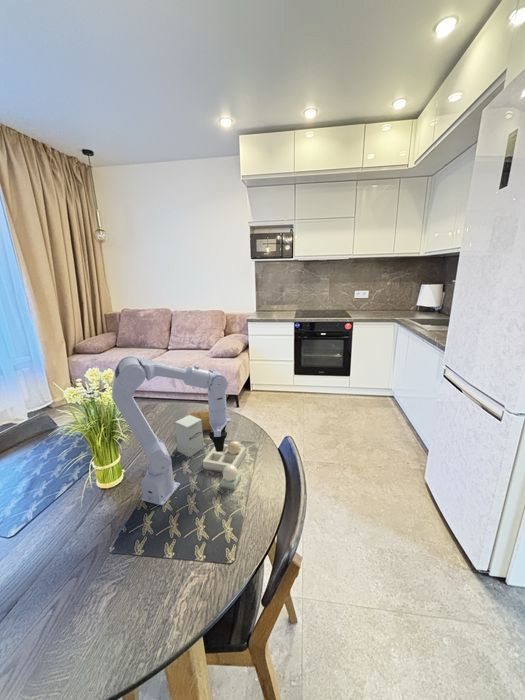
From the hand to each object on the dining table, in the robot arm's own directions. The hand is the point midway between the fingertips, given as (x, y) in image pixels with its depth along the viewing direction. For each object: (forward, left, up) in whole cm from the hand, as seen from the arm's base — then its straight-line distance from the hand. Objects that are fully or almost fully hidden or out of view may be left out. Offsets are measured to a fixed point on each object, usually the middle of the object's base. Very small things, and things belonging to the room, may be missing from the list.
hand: (220, 444), depth 101 cm
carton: (+5, +1, -10) cm, 11 cm away
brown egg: (+7, -2, -6) cm, 9 cm away
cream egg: (-5, -6, -6) cm, 10 cm away
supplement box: (+8, +17, -10) cm, 21 cm away
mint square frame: (-5, -6, -10) cm, 13 cm away
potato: (+23, +20, -10) cm, 32 cm away
